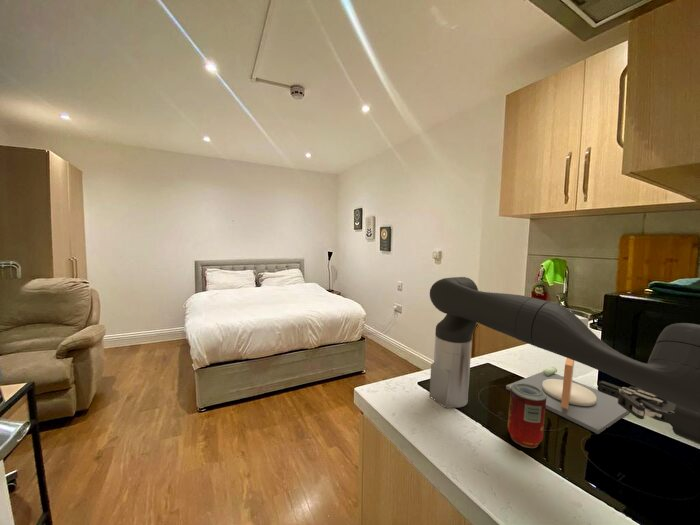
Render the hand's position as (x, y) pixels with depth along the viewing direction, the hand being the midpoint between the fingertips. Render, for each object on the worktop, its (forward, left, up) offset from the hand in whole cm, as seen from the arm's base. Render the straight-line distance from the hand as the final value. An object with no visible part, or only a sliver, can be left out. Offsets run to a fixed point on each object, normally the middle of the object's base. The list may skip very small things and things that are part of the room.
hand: (599, 385), depth 68 cm
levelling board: (+8, +9, -10) cm, 16 cm away
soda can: (-20, +5, -10) cm, 23 cm away
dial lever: (+5, +8, -9) cm, 13 cm away
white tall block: (+56, +29, -10) cm, 64 cm away
